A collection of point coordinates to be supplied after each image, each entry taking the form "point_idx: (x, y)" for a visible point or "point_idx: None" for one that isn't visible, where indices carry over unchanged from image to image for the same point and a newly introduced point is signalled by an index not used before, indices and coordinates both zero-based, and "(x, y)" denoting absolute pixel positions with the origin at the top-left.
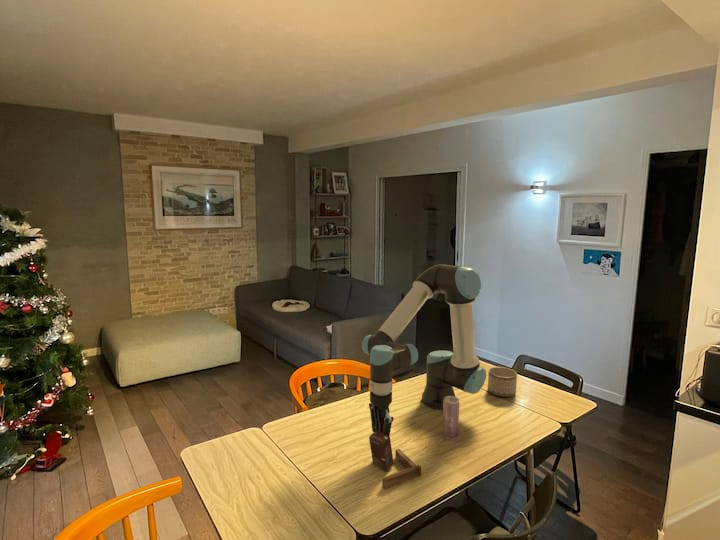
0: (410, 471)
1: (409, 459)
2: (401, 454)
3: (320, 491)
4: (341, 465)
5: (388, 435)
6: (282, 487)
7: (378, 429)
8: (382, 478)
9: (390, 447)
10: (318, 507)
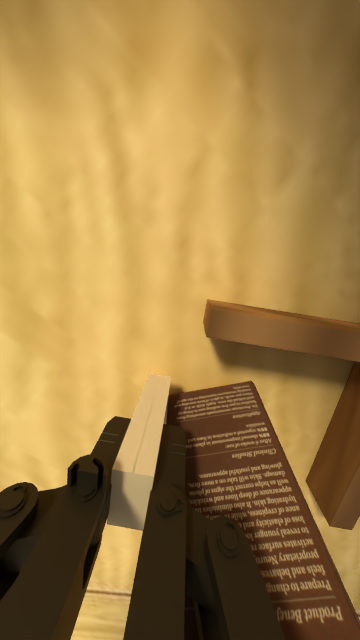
0: None
1: (342, 336)
2: (268, 340)
3: None
4: None
5: (275, 638)
6: (108, 637)
7: (67, 631)
8: (328, 522)
9: (322, 545)
10: None
